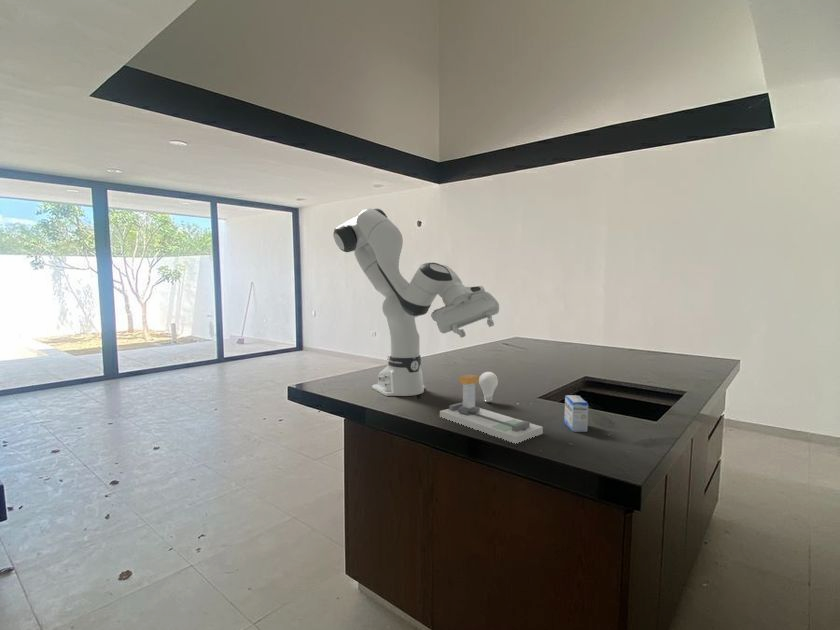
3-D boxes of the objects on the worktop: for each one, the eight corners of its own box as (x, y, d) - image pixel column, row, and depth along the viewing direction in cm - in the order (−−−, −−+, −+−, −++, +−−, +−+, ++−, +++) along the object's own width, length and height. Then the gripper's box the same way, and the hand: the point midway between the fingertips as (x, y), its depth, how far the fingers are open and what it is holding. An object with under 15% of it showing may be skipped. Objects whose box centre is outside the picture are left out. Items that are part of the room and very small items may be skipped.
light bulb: (486, 399, 160) (486, 369, 159) (501, 402, 155) (501, 371, 154) (474, 402, 155) (475, 372, 155) (490, 406, 151) (490, 374, 150)
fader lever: (458, 411, 137) (458, 376, 136) (470, 408, 141) (470, 373, 140) (467, 414, 134) (467, 378, 133) (479, 411, 138) (480, 375, 137)
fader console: (439, 417, 139) (439, 406, 139) (466, 409, 147) (466, 399, 147) (515, 444, 116) (515, 431, 116) (542, 433, 124) (542, 421, 124)
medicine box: (563, 423, 133) (564, 394, 133) (578, 423, 133) (579, 394, 132) (572, 432, 125) (572, 402, 125) (587, 432, 125) (588, 402, 125)
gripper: (427, 305, 138) (444, 335, 128) (486, 284, 141) (507, 311, 131) (430, 319, 142) (446, 348, 133) (487, 298, 145) (507, 325, 136)
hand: (477, 330), depth 132 cm, fingers open, 8 cm apart
